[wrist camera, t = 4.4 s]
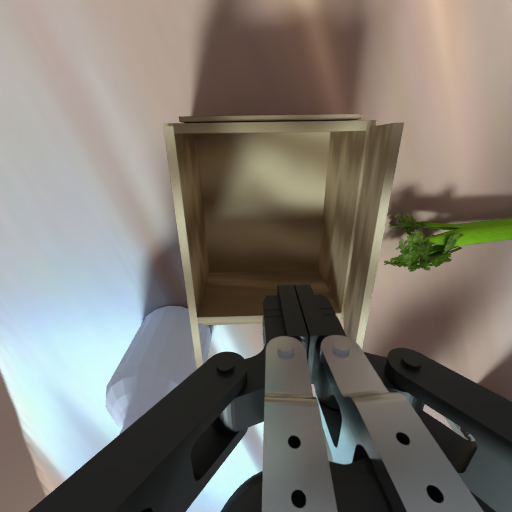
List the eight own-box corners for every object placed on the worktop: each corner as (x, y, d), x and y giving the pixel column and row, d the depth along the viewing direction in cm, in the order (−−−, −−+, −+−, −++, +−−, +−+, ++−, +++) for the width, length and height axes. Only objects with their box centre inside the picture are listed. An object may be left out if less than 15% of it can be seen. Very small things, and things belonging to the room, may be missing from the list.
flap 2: (347, 318, 24) (355, 384, 18) (343, 318, 24) (348, 382, 18) (376, 126, 18) (403, 122, 11) (370, 126, 18) (393, 123, 12)
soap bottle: (140, 354, 37) (-25, 691, 15) (143, 298, 33) (-68, 631, 11) (206, 363, 38) (146, 692, 16) (216, 310, 34) (158, 636, 12)
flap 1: (195, 322, 24) (205, 387, 17) (191, 323, 24) (199, 389, 17) (171, 129, 17) (173, 126, 11) (164, 130, 17) (162, 126, 11)
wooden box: (321, 275, 33) (346, 322, 25) (205, 278, 33) (191, 326, 24) (336, 120, 26) (377, 113, 18) (189, 122, 26) (162, 116, 18)
